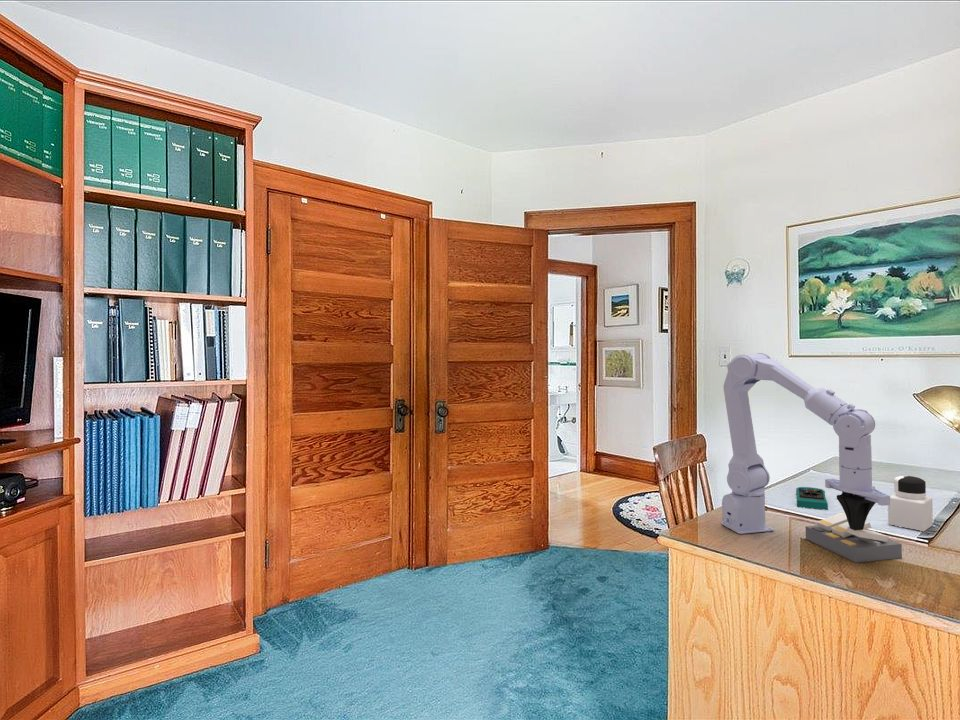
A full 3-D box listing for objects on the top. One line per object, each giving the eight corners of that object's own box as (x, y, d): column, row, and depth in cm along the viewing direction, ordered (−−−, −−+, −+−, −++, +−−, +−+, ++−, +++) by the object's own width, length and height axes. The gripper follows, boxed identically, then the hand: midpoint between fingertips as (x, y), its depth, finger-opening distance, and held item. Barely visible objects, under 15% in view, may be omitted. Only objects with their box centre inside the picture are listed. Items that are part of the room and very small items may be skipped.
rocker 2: (844, 537, 116) (842, 532, 116) (832, 532, 119) (831, 527, 119) (871, 527, 117) (869, 522, 117) (858, 522, 120) (857, 517, 120)
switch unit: (856, 562, 110) (855, 545, 110) (805, 538, 124) (805, 523, 124) (901, 557, 112) (901, 540, 112) (847, 534, 126) (846, 519, 126)
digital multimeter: (824, 497, 157) (824, 487, 157) (828, 511, 144) (827, 501, 144) (796, 495, 160) (795, 485, 160) (796, 508, 148) (796, 498, 148)
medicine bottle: (933, 525, 130) (932, 477, 129) (923, 532, 126) (923, 482, 125) (897, 518, 135) (897, 472, 135) (887, 524, 131) (886, 477, 131)
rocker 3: (859, 537, 112) (860, 531, 112) (846, 531, 115) (847, 526, 115) (887, 542, 113) (888, 536, 113) (874, 536, 116) (875, 531, 116)
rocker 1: (828, 531, 120) (827, 526, 120) (818, 526, 123) (816, 521, 123) (855, 521, 121) (853, 516, 121) (843, 517, 124) (842, 512, 124)
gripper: (903, 473, 106) (904, 539, 107) (843, 458, 121) (845, 516, 121) (872, 475, 105) (873, 542, 106) (816, 460, 120) (817, 519, 120)
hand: (856, 529), depth 113 cm, fingers closed, pressing on rocker 3
